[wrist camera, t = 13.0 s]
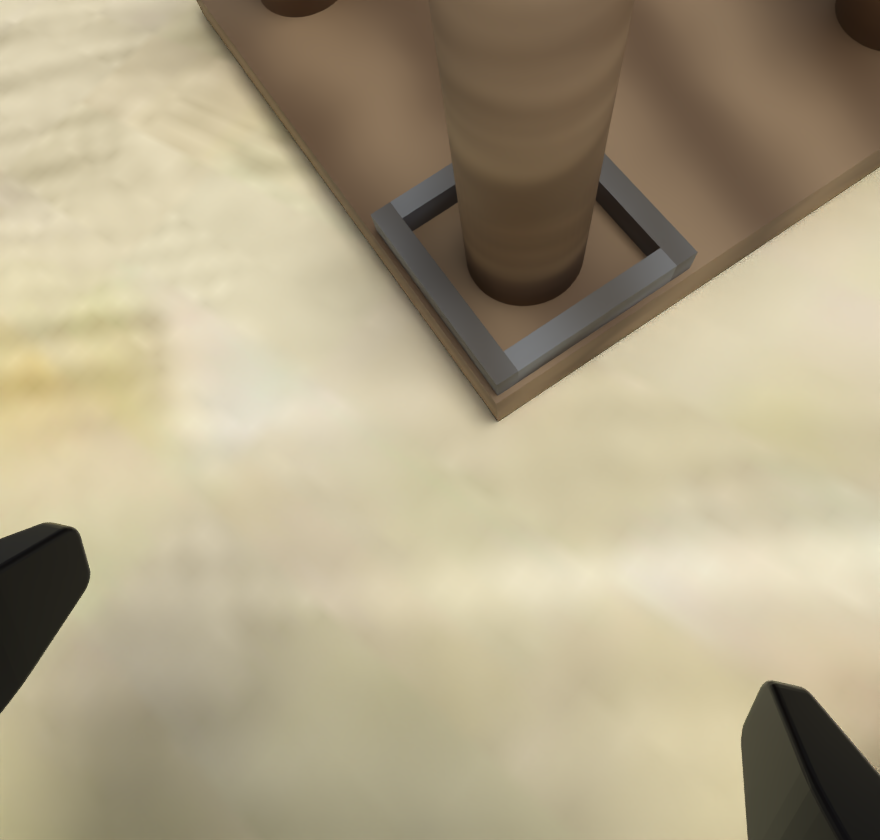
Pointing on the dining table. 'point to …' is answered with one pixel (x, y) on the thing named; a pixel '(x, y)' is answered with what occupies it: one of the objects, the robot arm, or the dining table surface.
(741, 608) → the dining table surface
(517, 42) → the stool leg
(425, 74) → the peg board
